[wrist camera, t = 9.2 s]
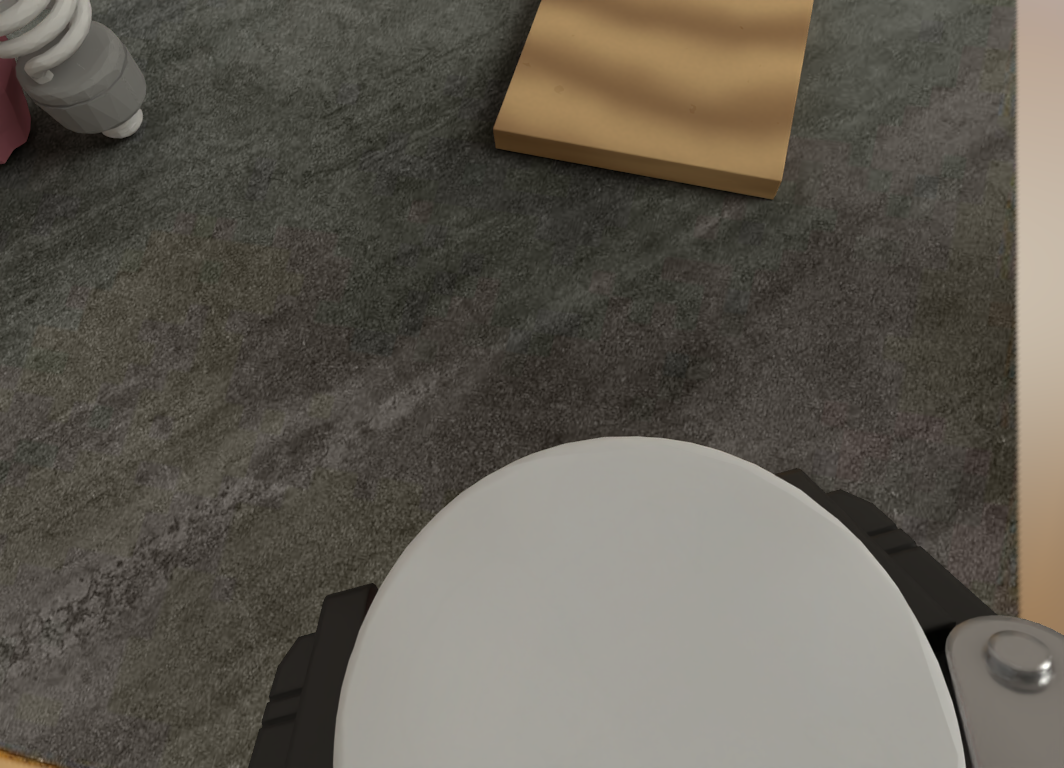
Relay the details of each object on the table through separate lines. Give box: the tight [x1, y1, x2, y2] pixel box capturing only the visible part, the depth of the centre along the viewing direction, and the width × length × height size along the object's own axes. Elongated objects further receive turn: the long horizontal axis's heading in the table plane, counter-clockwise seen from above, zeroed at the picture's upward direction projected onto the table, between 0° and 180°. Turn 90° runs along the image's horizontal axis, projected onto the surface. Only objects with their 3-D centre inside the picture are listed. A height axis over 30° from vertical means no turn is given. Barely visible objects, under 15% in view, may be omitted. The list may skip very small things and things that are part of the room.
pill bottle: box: [333, 436, 966, 768], centre depth 10 cm, size 6×6×11 cm
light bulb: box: [0, 0, 146, 138], centre depth 33 cm, size 6×6×12 cm
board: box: [493, 0, 814, 199], centre depth 38 cm, size 20×15×2 cm
